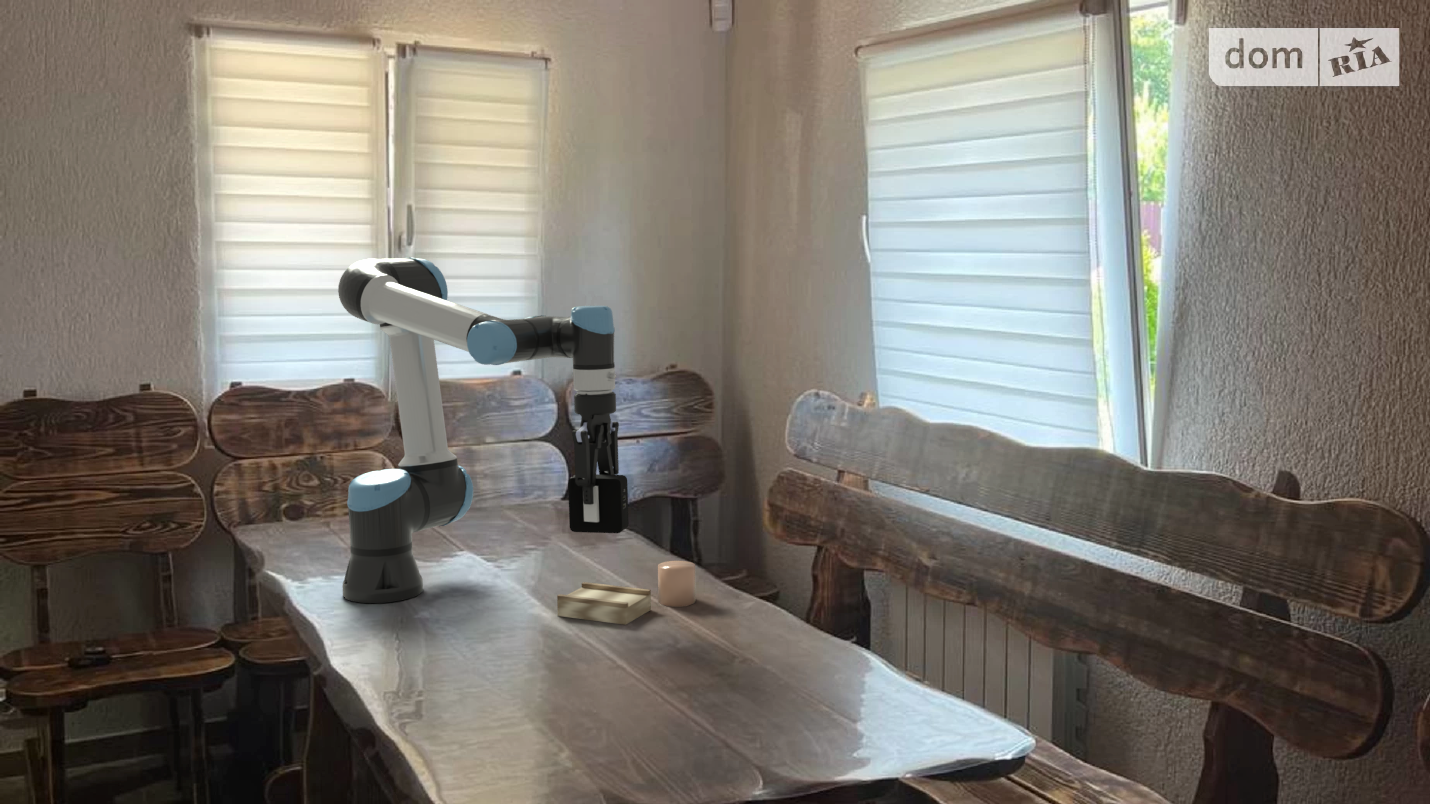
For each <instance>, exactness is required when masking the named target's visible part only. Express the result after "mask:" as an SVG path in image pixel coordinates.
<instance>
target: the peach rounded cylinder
mask: <svg viewBox="0 0 1430 804" xmlns="http://www.w3.org/2000/svg"><path fill="white" fill-rule="evenodd" d="M657 582H658V583H657V585H658V587H657V588H658V589H657V593H658V595H657V597H658V604H660V605H661V606H666V607H673V608H675V607H676V608H677V607H678V608H679V607H687V606H691V605H693V604H695V603H696V564H695V563H693V562H691V561H687V560H686V561H685V560H670V561H669V560H667V561H663V562H661V563H658V565H657Z"/></svg>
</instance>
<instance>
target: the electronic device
mask: <svg viewBox="0 0 1430 804" xmlns="http://www.w3.org/2000/svg"><path fill="white" fill-rule="evenodd" d="M567 483H568V484H567V489H568V491H567V493H568V517H569V518H568V519H569V520H568V521H569V530H570V531H571V532H573V533H588V534H589V533H592V534H593V533H594V534H595V533H596V534H597V533H599V534H620V533H621V532H623V531H624V530H625V529H627V528H628V527H629V498H628V497H629V494H628V478H627V476H626V475H623V474H617V475H599V474H597V473H596V482H595V486H598V499H599V522H586V521H584V504H583V486H577V484H576V482H575V474H574V475H573V476H571V477H570V478H569V480H568V482H567Z"/></svg>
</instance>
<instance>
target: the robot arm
mask: <svg viewBox="0 0 1430 804" xmlns="http://www.w3.org/2000/svg"><path fill="white" fill-rule="evenodd" d="M337 288H338V289H337V292H338V298H339V301H340V304H341V306H343V308H344V309H345V311H346V312H347V313H348V314H350V315H351V316H352V317H354V318H357V319H360V320H361V321H365V322H367V323H370V324H373V325H379V329H380V330H381V331H382V332H383V333H385V335H387V336H388V337H389V343H390V352H391V359H392V367H393V376H394V383H395V390H396V397H397V406H398V413H399V420H400V428H401V436H402V437H401V438H402V444H403V450H404V451H403V452H404V456H403V458H401V460H400V461H399V463H398V464H397V465H398V466H397V467H398V468H385V469H384V468H383V469H381V470H379V469H378V470H372V471H368V472H366V473H362V474H359V475H358V476H356V477H354V479H352V480H351V481H350V483H349V485H348V491H347V492H348V496H347V501H346V502H347V503H346V504H347V508H348V520H349V521H348V522H349V523H348V526H349V545H350V548H349V549H350V555H349V560H348V565H347V567H346V572H345V575H344V580H343V582H342V587H341V588H342V596H344V597H345V598H344V597H343V598H344V599H346V600H348V601H350V600H351V602H355V603H360V604H361V603H363V604H381V603H382V604H383V603H392V602H393V603H394V602H400V601H404V600H408V599H412V598H414V597H417V596H419V595H420V594H422V593H423V591H424V582H423V581H424V579H423V576H422V575H421V573H420V570H419V567H418V564H417V561H416V558H415V555H414V552H413V533H417V532H420V531H424V530H428V529H429V530H430V529H434V528H436V527H446V526H447V525H450V524H451V523H454V522H457V521H459V520H460V519H462V518H463V517H464V516H465V515H466V514H467V512H469V510H470V508H471V506H472V503H473V498H474V484H473V481H472V477H471V476H470V474H469V473H467V472H468V471H467V470H466V469H465V468H464V467H463V466H461V465H459V463H458V456H457V455H456V454H454V453H453V452H451V450H449V445H448V440H447V439H448V438H447V430H446V423H445V415H444V409H443V408H444V406H443V398H442V392H441V386H440V385H441V384H440V377H439V371H438V370H439V369H438V361H437V354H436V347H435V341H437V342H440V343H442V344H445V345H448V346H451V347H453V348H456V349H459V350H462V351H464V352H468V353H469V355H470V356H471V357H472V358H473V359H474V361H475V362H476V363H478V364H481V365H487V366H489V365H490V366H491V365H492V366H499V365H505V364H510V363H518V362H525V361H531V360H541V359H550V358H551V359H553V358H556V359H558V358H559V359H560V358H564V359H565V358H569V359H572V368H573V369H572V371H573V375H572V376H573V379H572V380H573V390H574V391H576V393H575V394H574V395H573V402H574V403H573V404H574V407H573V408H574V413H575V414H577V415H580V417H581V418H580V425H579V429H578V430H575V429H574V430H572V432H571V435H572V440H573V448H574V449H573V451H574V453H573V454H574V475H575V482H576V484H577V486H583V504H584V521H586V522H599V499H598V486H595V482H596V474H597V471H598V473H599V474H598V475H619V471H620V470H619V441H618V440H619V439H618V436H619V435H618V434H619V427H620V425H619V424H620V423H619V422H618V421H612V418H611V416H610V415H611V414H614V413H616V411H617V399H616V397H617V395H616V393H615V392H614V391H613V390H615V388H616V378H617V375H616V374H617V373H616V370H615V327H614V326H615V325H614V317H613V315H614V314H613V310H612V308H611V307H610V306H608V305H580V306H579V305H577V306H574V307H572V308H571V311H570V312H571V313H570V316H568V317H567V316H550V315H549V316H547V315H542V314H541V315H535V316H527V317H525V318H517V319H505V318H504V319H503V318H500V317H497V316H494V315H491V314H488V313H486V312H482V311H480V310H476V309H474V308H470V307H467V306H465V305H463V304H459V303H456V302H453V301H449V300H448V298H449V297H448V296H449V295H448V294H449V292H448V291H449V290H448V285H447V282H446V278H445V277H444V274H443V273H442V271H441V269H439V267H438V266H436V265H435V264H434V263H433V262H432V261H431V260H428V259H424V258H418V257H417V258H415V257H412V256H411V257H410V256H409V257H394V258H367V259H362V260H358V261H356V262H354V263H352V264H351V265H349V267H347V268H346V270H345V271H344V272H343V273H342V275H341V277H340V278H339V282H338V287H337ZM597 469H598V470H597Z"/></svg>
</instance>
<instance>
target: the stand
mask: <svg viewBox="0 0 1430 804" xmlns="http://www.w3.org/2000/svg"><path fill="white" fill-rule="evenodd" d="M651 594H652V593H651V589H646V588H638V587H629V586H622V585H614V584H613V585H612V584H603V583H596V582H586V581H583V582H582V583H581V587H579V588H577V589H576V590H574V591H572V592H570V593H568V594H562V593H560V594H557V597H556V598H557V599H556V601H557V607H556V608H557V609H556V610H557V617H565V618H573V619H580V620H586V621H594V622H600V623H601V622H603V623H609V624H616V625H617V624H618V625H625V626H626V625H628V624H630V623H631V622H633V621H634V620H636V619H638V618H640V617H641V616H643V615H645V614H646V613H648V612H649V611H652V603H651V602H652V595H651Z"/></svg>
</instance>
